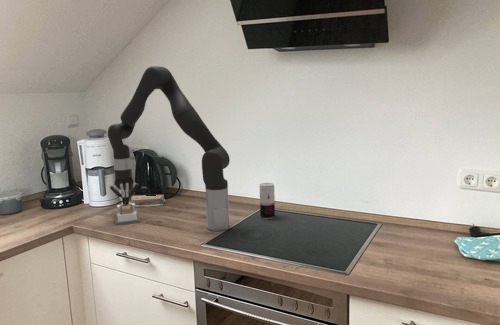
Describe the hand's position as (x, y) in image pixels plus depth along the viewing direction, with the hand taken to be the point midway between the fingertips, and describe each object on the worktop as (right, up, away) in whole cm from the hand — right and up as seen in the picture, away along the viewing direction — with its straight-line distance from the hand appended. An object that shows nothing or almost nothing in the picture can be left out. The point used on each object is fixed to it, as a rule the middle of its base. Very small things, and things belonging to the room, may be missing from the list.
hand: (126, 204), depth 184 cm
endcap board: (0, -6, +1) cm, 6 cm away
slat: (0, -5, +1) cm, 5 cm away
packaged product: (+4, -3, +22) cm, 23 cm away
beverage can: (+65, -5, -4) cm, 65 cm away
